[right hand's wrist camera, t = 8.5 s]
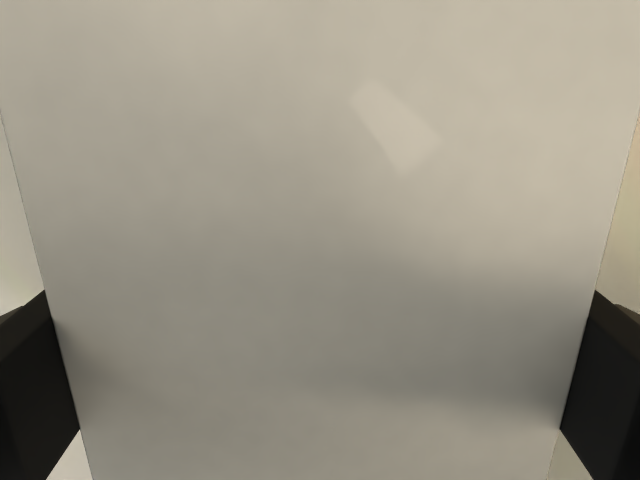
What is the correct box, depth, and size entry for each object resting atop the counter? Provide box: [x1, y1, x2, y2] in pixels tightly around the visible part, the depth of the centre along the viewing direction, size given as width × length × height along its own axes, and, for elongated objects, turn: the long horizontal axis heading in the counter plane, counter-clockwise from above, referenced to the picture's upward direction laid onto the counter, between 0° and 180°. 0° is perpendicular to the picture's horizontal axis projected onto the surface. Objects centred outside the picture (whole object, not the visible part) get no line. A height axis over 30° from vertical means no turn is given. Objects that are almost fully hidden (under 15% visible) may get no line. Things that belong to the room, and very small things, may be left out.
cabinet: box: [0, 0, 640, 480], centre depth 12 cm, size 18×10×10 cm, turn 0°
